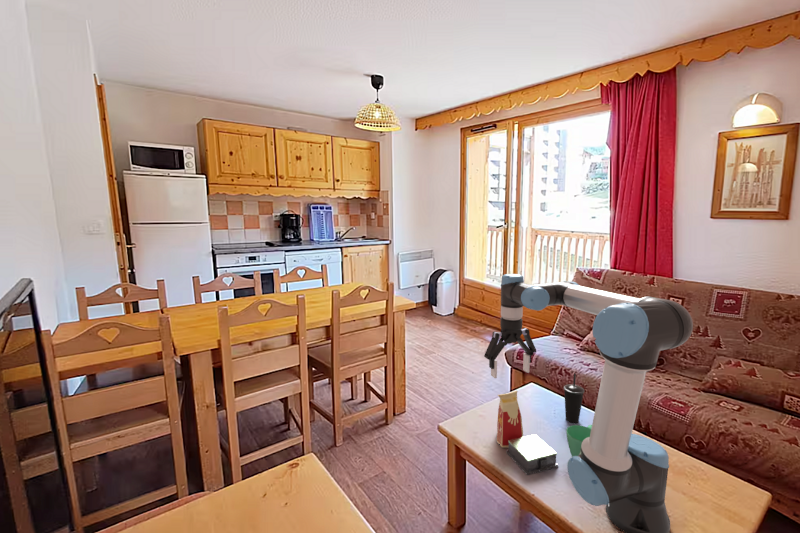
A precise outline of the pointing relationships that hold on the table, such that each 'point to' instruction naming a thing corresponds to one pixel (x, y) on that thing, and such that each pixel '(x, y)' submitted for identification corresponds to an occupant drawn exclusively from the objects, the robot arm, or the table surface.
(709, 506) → the table surface
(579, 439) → the mug
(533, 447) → the stand
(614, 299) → the robot arm
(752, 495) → the table surface
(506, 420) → the milk carton
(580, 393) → the drinking cup
